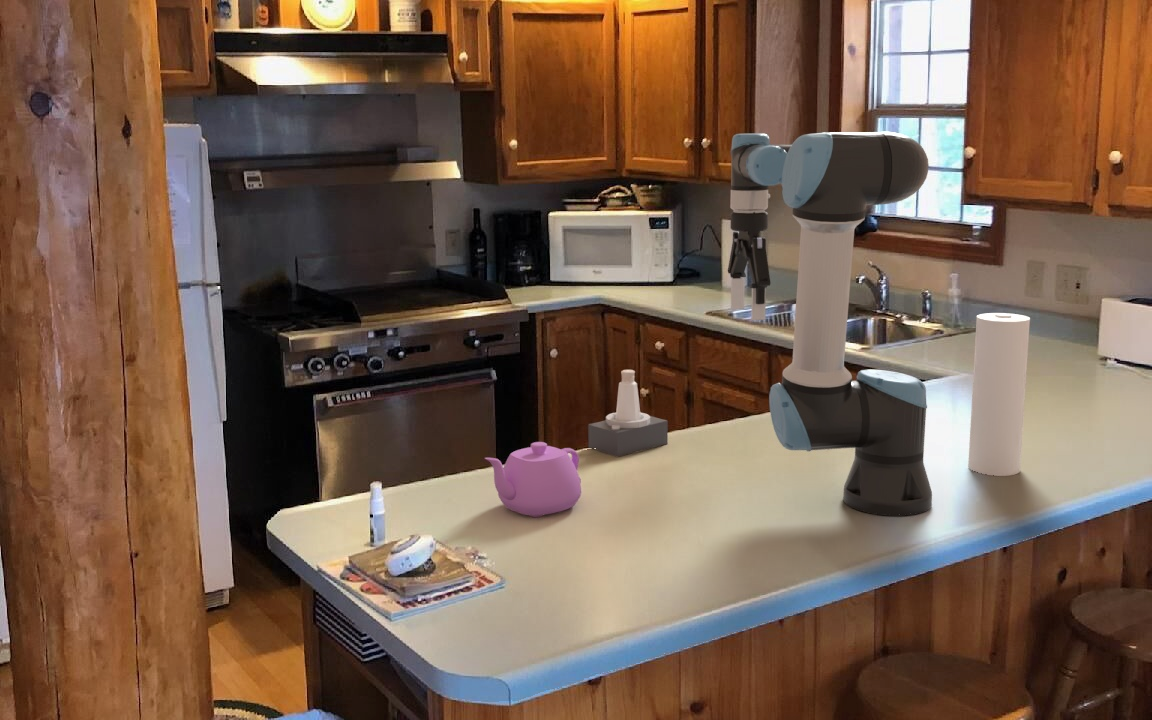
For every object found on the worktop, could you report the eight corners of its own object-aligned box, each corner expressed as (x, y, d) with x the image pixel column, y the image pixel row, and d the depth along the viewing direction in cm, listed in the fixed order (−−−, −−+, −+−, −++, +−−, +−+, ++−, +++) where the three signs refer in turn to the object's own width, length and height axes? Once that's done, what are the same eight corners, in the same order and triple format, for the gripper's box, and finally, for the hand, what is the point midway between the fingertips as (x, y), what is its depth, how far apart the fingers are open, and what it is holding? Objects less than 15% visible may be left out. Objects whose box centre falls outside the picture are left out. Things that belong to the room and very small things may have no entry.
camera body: (638, 435, 255) (638, 407, 254) (667, 443, 249) (667, 415, 247) (588, 447, 247) (588, 418, 245) (617, 456, 240) (617, 427, 239)
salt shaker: (613, 425, 244) (612, 373, 242) (617, 418, 250) (616, 367, 247) (639, 426, 243) (639, 374, 241) (642, 419, 249) (642, 368, 246)
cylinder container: (986, 477, 223) (996, 320, 217) (958, 463, 232) (966, 312, 226) (1030, 473, 226) (1041, 317, 219) (1000, 459, 235) (1009, 309, 228)
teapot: (557, 488, 221) (556, 427, 218) (602, 506, 210) (602, 442, 208) (466, 511, 209) (464, 446, 206) (509, 532, 198) (507, 464, 196)
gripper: (788, 215, 230) (785, 323, 234) (747, 205, 254) (746, 303, 259) (751, 216, 229) (749, 325, 233) (713, 206, 253) (712, 305, 257)
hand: (747, 314), depth 246 cm, fingers open, 13 cm apart
